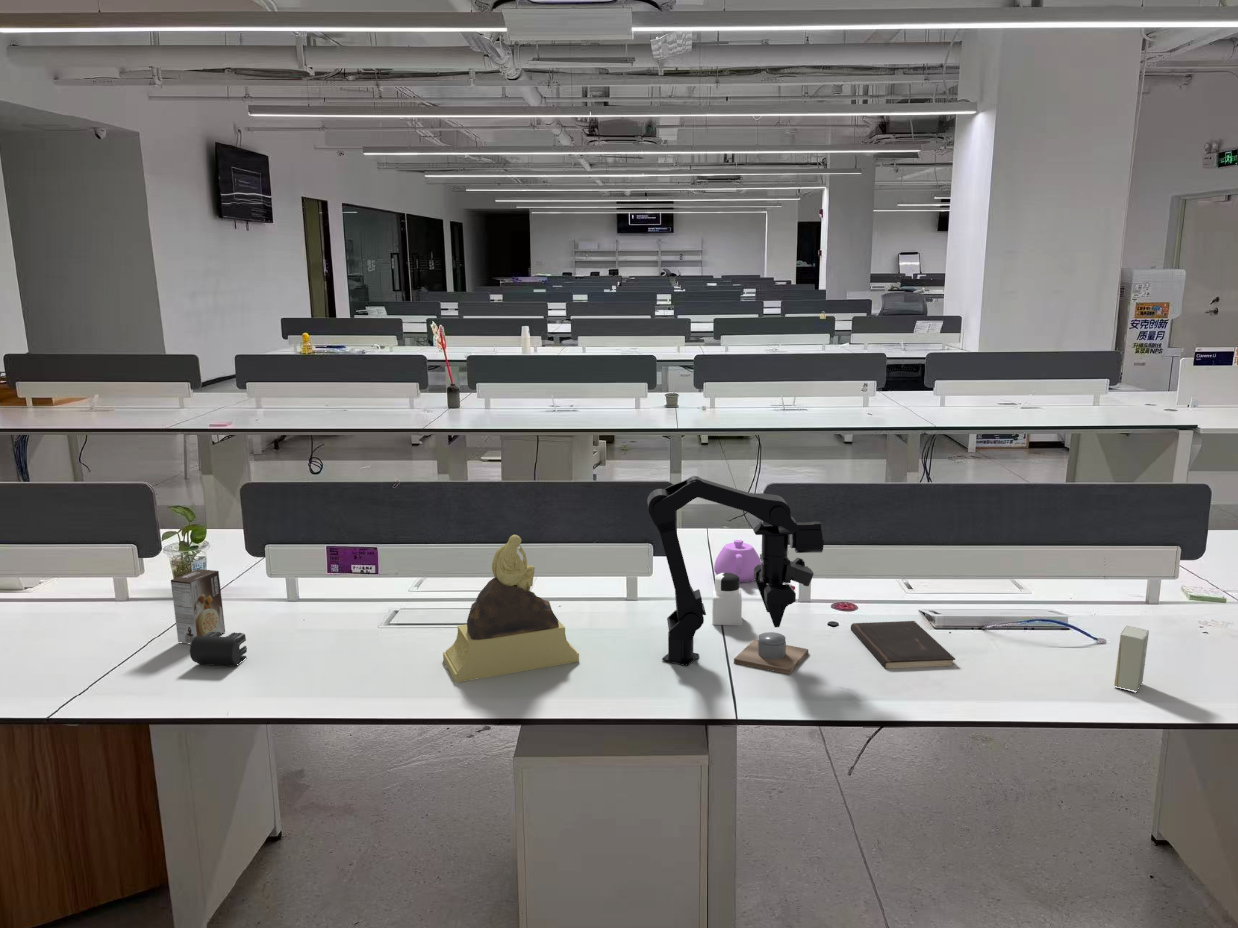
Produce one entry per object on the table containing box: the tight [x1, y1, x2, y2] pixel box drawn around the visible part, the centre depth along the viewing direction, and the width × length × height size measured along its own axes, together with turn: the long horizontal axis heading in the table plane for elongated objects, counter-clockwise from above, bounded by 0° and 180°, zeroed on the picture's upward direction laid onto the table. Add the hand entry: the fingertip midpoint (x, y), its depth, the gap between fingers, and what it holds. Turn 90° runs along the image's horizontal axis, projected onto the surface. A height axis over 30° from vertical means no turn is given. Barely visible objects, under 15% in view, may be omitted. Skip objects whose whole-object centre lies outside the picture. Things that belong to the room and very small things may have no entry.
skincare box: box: [1113, 625, 1150, 691], centre depth 193 cm, size 6×4×12 cm
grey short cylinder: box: [758, 631, 787, 659], centre depth 209 cm, size 6×6×4 cm
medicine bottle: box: [711, 573, 743, 627], centre depth 232 cm, size 7×7×12 cm
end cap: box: [189, 632, 248, 667], centre depth 209 cm, size 10×7×7 cm
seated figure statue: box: [442, 534, 580, 683], centre depth 207 cm, size 28×13×30 cm, turn 112°
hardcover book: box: [850, 620, 956, 670], centre depth 215 cm, size 16×23×2 cm
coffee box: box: [170, 568, 226, 644], centre depth 223 cm, size 9×6×16 cm
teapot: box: [713, 539, 761, 583], centre depth 267 cm, size 14×20×11 cm
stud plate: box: [733, 638, 809, 675], centre depth 209 cm, size 13×13×4 cm
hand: (773, 619), depth 208 cm, fingers open, 9 cm apart
